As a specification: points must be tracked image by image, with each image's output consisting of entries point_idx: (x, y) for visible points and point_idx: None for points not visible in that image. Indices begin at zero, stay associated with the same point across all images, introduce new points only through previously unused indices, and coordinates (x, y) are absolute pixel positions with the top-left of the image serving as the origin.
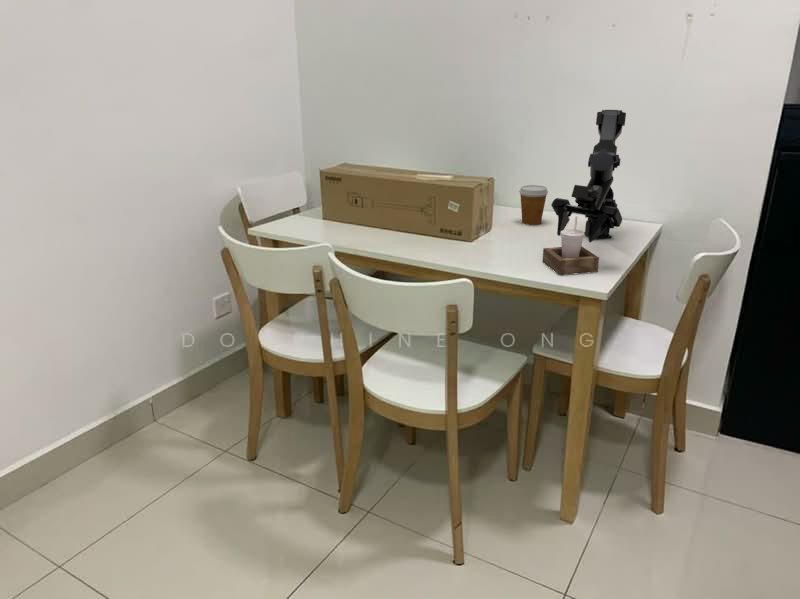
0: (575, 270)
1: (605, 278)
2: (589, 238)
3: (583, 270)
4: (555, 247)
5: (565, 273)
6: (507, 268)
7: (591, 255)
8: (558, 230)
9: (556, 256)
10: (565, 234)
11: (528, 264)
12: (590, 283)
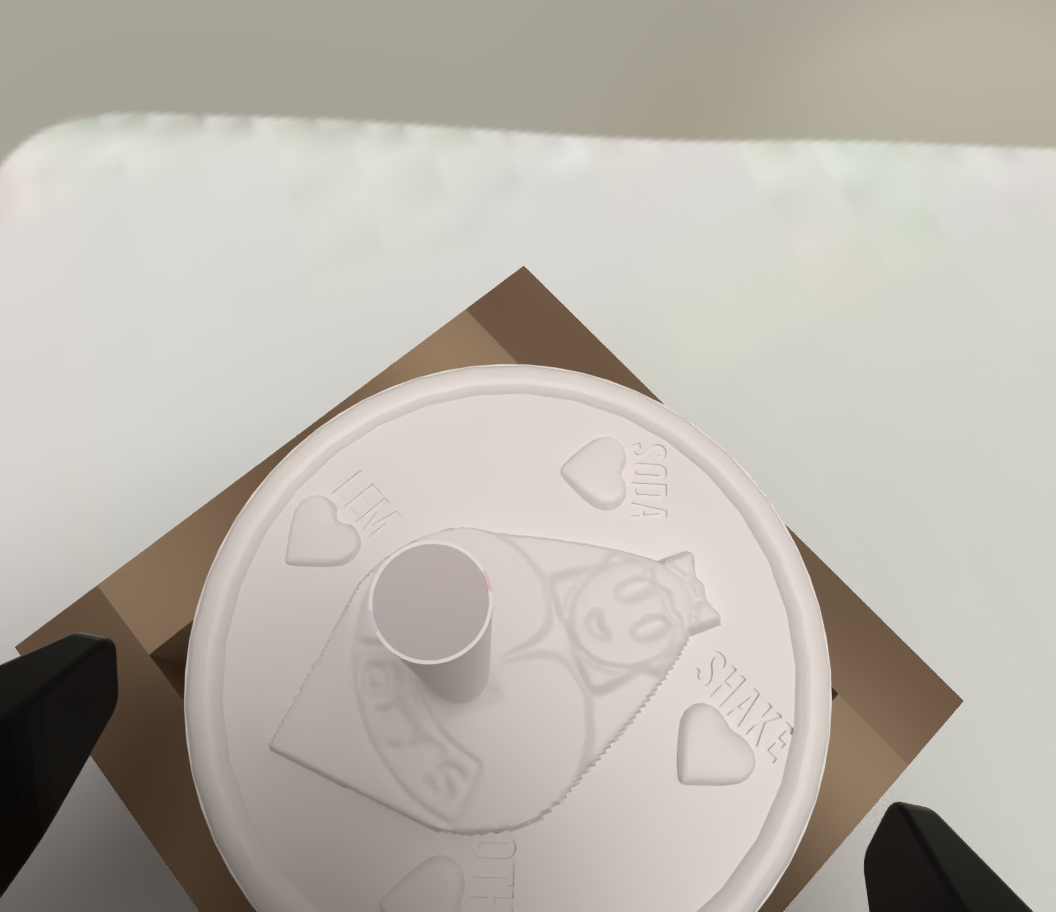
0: None
1: (9, 486)
2: (73, 652)
3: None
4: (823, 852)
5: None
6: (1050, 320)
7: (150, 697)
8: (966, 868)
9: None
10: (610, 383)
11: (946, 540)
12: (155, 277)
